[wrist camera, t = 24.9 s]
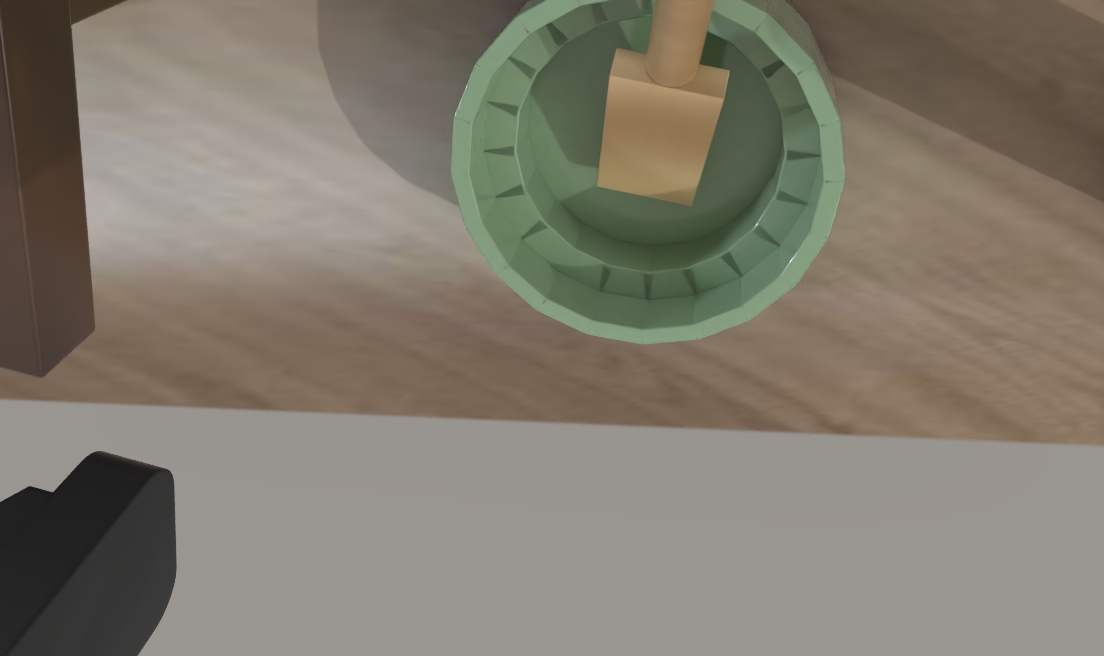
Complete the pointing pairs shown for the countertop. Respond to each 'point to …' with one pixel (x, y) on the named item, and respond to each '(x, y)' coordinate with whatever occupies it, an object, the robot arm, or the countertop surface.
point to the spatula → (662, 108)
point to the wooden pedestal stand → (42, 187)
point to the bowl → (637, 221)
